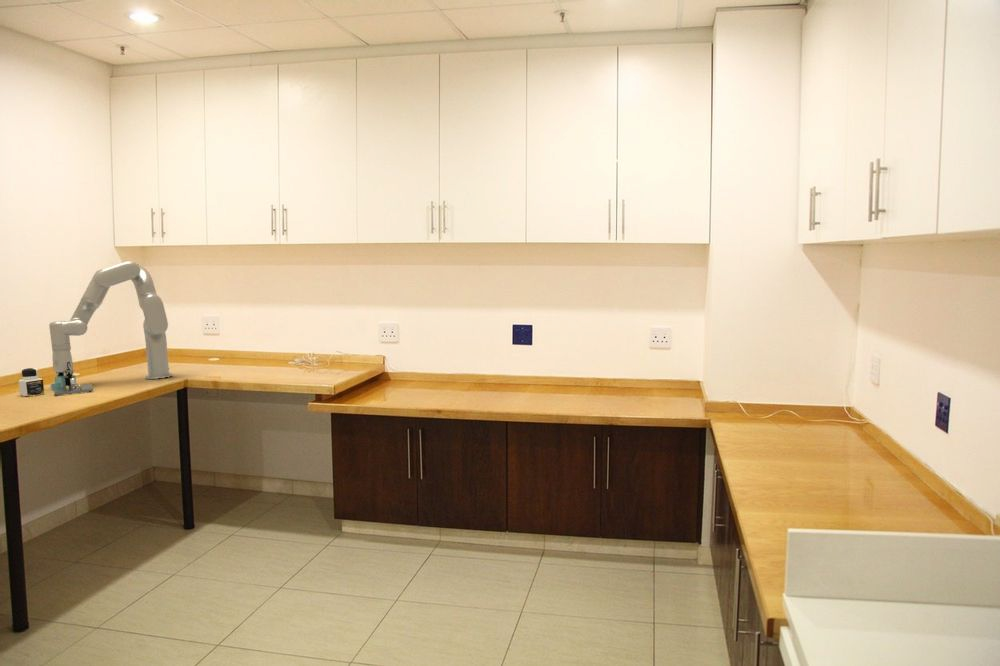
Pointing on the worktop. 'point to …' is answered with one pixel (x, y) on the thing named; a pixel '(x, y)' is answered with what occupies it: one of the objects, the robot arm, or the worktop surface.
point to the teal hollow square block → (60, 382)
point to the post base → (73, 388)
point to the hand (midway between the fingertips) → (65, 384)
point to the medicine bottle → (31, 383)
